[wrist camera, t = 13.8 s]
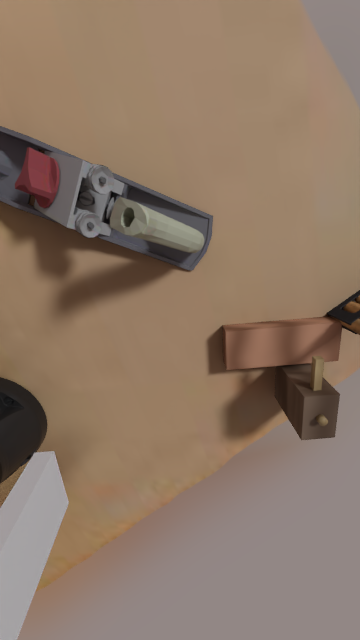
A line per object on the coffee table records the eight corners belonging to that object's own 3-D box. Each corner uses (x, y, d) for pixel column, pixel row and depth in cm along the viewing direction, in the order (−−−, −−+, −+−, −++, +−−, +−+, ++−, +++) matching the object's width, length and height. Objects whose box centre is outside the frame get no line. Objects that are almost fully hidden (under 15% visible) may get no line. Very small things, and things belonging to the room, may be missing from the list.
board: (223, 361, 39) (226, 370, 37) (222, 325, 38) (225, 331, 35) (328, 352, 39) (338, 360, 37) (331, 316, 38) (342, 322, 35)
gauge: (274, 396, 41) (304, 445, 32) (276, 335, 38) (310, 369, 29) (301, 394, 41) (338, 442, 32) (305, 332, 38) (348, 365, 29)
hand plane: (197, 272, 36) (213, 302, 21) (-54, 176, 31) (-241, 134, 17) (218, 218, 34) (252, 211, 19) (-47, 108, 29) (-252, -3, 15)
